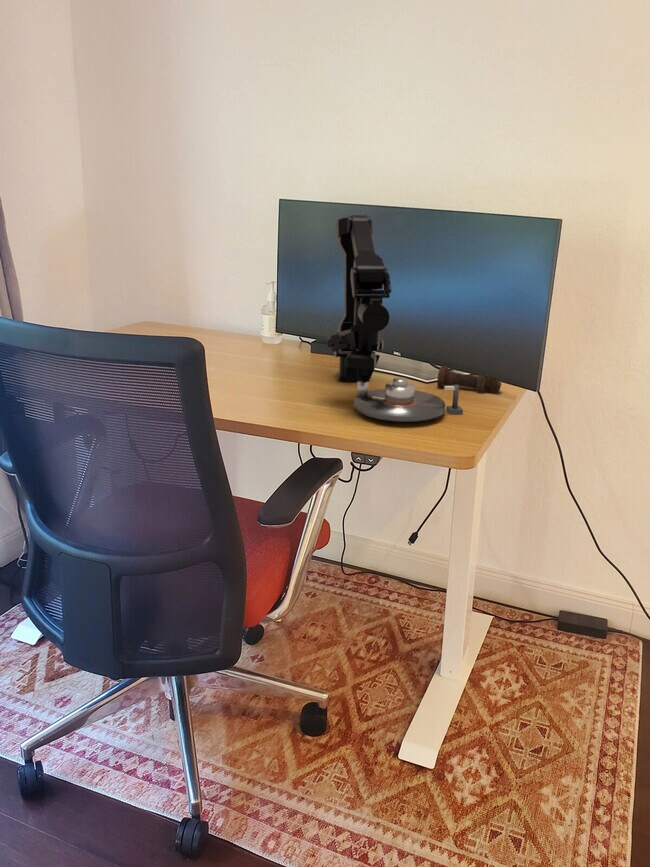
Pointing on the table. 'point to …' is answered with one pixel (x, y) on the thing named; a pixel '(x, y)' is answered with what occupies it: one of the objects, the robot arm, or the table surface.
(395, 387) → the cap
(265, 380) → the table surface
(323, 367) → the table surface
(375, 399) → the turntable
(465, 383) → the bolt
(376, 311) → the robot arm
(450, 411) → the dial pointer
